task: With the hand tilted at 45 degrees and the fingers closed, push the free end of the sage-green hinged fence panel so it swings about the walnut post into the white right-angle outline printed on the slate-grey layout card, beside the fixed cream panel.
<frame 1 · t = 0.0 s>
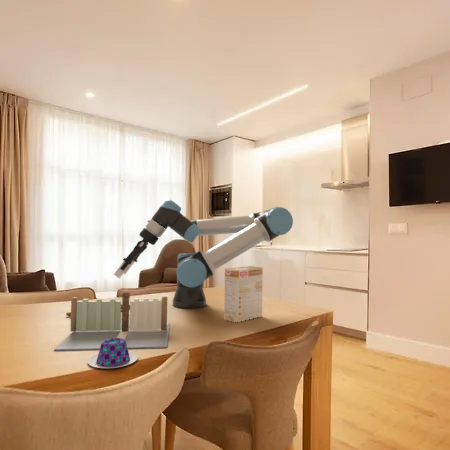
hand: (119, 274, 138), 15 cm above the table, tool tilted 35°, fingers open, 13 cm apart
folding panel: (96, 313, 109), point 6 cm above the table, hinge at 0.0°
pudding: (113, 362, 85), on the table
fixed panel: (148, 314, 111), resting on layout card
layout card: (119, 336, 105), on the table
hinge post: (125, 332, 110), resting on layout card
coffeecake box: (243, 318, 131), on the table
decorative fence: (100, 314, 137), on the table
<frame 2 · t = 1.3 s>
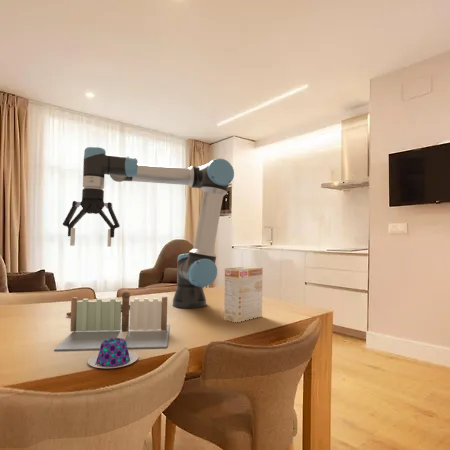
hand: (90, 246, 127), 27 cm above the table, tool pointing down, fingers open, 12 cm apart
nothing on the table moved.
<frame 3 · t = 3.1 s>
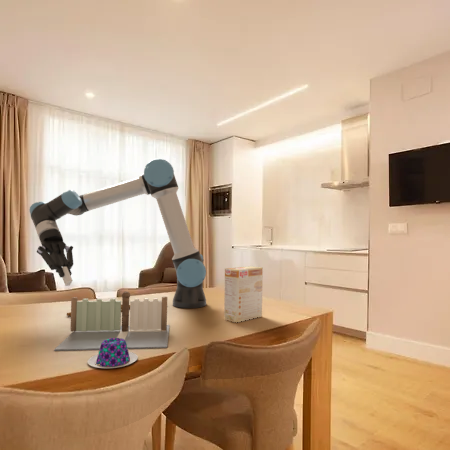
hand: (69, 283, 120), 14 cm above the table, tool tilted 45°, fingers closed
nothing on the table moved.
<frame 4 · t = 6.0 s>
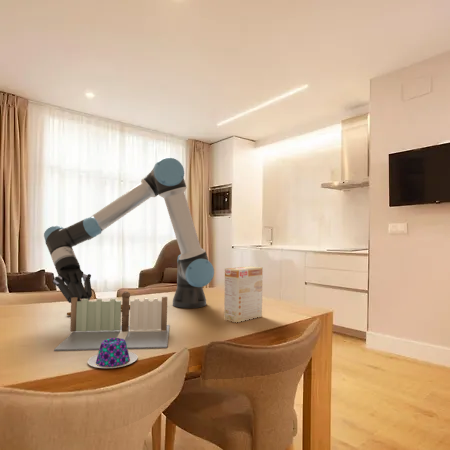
hand: (88, 317, 110), 5 cm above the table, tool tilted 45°, fingers closed
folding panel: (96, 314, 109), point 6 cm above the table, hinge at 0.4°, touching gripper
everything else where it was.
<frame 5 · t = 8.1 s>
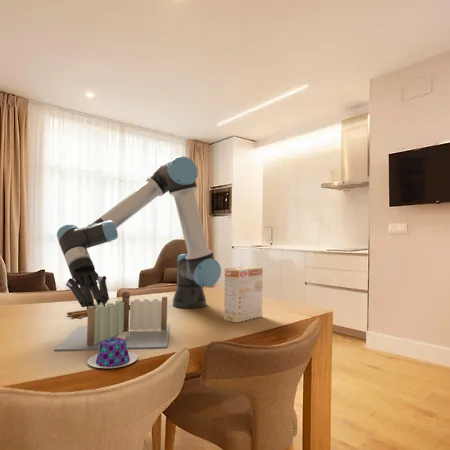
hand: (103, 323, 104), 5 cm above the table, tool tilted 45°, fingers closed
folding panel: (106, 320, 102), point 6 cm above the table, hinge at 62.9°, touching gripper
everything else where it was.
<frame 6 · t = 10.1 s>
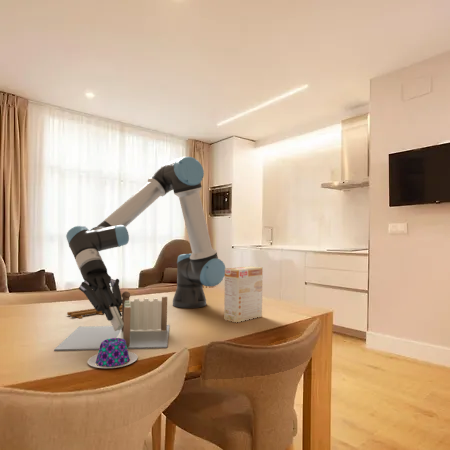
hand: (119, 327, 99), 4 cm above the table, tool tilted 45°, fingers closed
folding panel: (126, 320, 102), point 6 cm above the table, hinge at 100.1°, touching gripper
everything else where it was.
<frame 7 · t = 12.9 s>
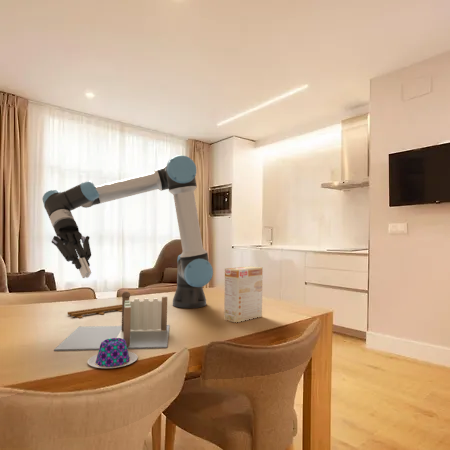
hand: (87, 275, 112), 18 cm above the table, tool tilted 45°, fingers closed
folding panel: (126, 320, 102), point 6 cm above the table, hinge at 100.2°
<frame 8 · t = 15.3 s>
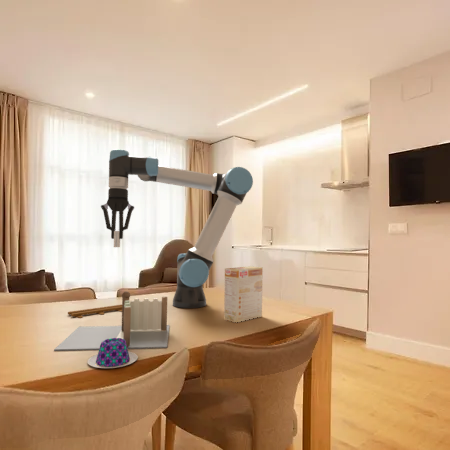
hand: (116, 247, 137), 26 cm above the table, tool pointing down, fingers closed
at the end: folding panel at +100° (first picture: +0°) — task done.
